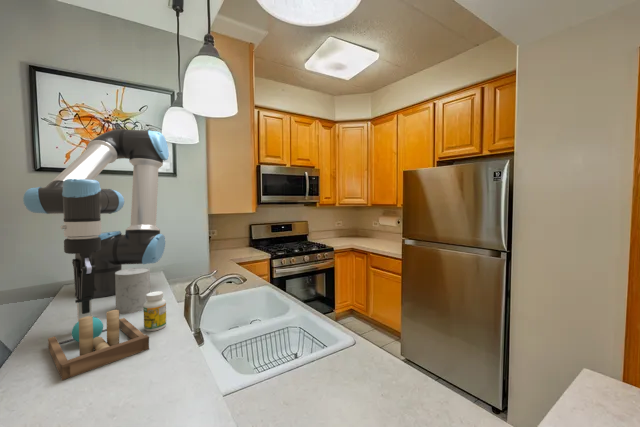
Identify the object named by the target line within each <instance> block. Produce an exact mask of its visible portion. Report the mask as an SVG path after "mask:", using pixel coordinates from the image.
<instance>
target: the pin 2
mask: <svg viewBox="0 0 640 427" xmlns="http://www.w3.org/2000/svg"><path fill="white" fill-rule="evenodd" d="M105 316H106V329H107V331H106V343H107V344H108V345H109V346H113V345H116V344H119V343H120V328H119V319H120V313H119V310H116V309H113V310H108V311H107V312H106V315H105Z"/></svg>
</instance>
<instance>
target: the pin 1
mask: <svg viewBox="0 0 640 427" xmlns="http://www.w3.org/2000/svg"><path fill="white" fill-rule="evenodd" d="M93 317H94V316H93V315H92V316H87V317H83V318H80V319H79V342H78V344H79V346H78V347H79V349H78V350H79V353H78V354H79V356H82V355H85V354H88V353H91V352H94V349H93Z"/></svg>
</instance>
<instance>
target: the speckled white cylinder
mask: <svg viewBox="0 0 640 427" xmlns="http://www.w3.org/2000/svg"><path fill="white" fill-rule="evenodd" d="M150 270H151V269H150V268H149V267H132V268H125V269H122V270H120V271H117V272H115V287H116V294H115V310H119V314H121V315H123V314H134V313H138V311H139V312H142V311H144V308H143V306H144V303H145V302H146V301H147V299H146V294H148V293H151V274H150V273H151V271H150Z"/></svg>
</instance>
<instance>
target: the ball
mask: <svg viewBox="0 0 640 427" xmlns="http://www.w3.org/2000/svg"><path fill="white" fill-rule="evenodd" d="M92 317H93V339H94V338H95V337H100V336H101V334H102V333H103V332H102V330H104V324H103V322H102V320H101V319H100V318H99V317H96V316H95V317H94V316H92ZM71 338H72V339H74V340H73V341H75V342H77V343H79V321H78V320H77V322H76V323H75V324H74V325H73V327H72V329H71Z"/></svg>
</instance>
